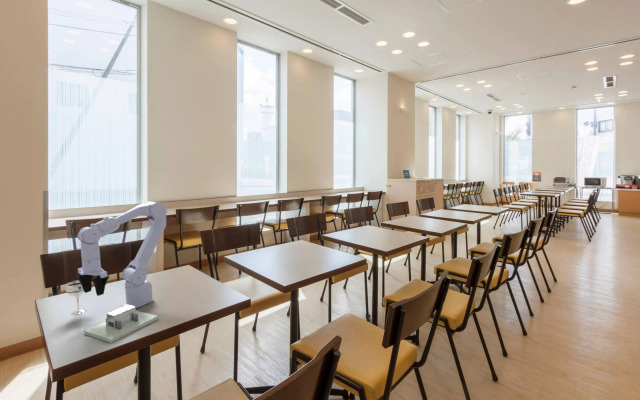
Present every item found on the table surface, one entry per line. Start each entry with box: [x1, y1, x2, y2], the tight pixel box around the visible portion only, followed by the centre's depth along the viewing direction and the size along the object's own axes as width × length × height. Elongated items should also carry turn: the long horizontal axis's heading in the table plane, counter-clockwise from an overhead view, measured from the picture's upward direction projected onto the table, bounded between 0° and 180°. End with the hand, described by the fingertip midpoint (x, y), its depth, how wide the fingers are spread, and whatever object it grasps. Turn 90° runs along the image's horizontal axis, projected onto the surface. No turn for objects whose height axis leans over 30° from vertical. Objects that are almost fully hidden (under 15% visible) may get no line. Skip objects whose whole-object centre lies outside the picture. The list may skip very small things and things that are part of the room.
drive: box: [106, 305, 137, 329], centre depth 118 cm, size 8×4×5 cm, turn 156°
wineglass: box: [65, 279, 87, 316], centre depth 131 cm, size 7×7×12 cm
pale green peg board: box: [83, 310, 159, 343], centre depth 119 cm, size 18×14×4 cm
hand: (94, 293), depth 126 cm, fingers open, 7 cm apart
